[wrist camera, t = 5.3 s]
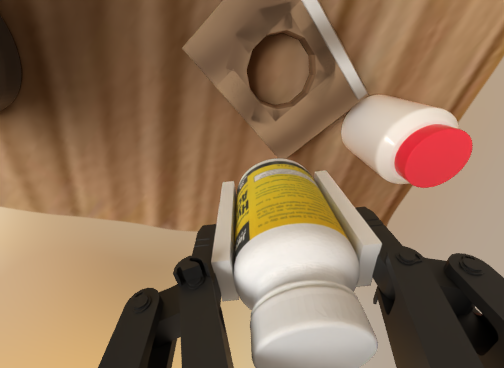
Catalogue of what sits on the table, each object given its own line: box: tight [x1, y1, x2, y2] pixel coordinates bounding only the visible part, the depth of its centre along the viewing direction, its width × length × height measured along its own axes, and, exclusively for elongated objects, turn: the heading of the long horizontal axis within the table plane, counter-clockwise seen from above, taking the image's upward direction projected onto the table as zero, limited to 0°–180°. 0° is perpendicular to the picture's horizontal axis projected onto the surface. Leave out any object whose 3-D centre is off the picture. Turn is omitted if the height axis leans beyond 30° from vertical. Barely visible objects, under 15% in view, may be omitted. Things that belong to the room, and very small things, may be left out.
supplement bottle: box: [234, 158, 378, 368], centre depth 11 cm, size 5×5×10 cm
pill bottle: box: [341, 94, 472, 188], centre depth 23 cm, size 8×8×11 cm
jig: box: [182, 0, 369, 159], centre depth 23 cm, size 16×12×3 cm
